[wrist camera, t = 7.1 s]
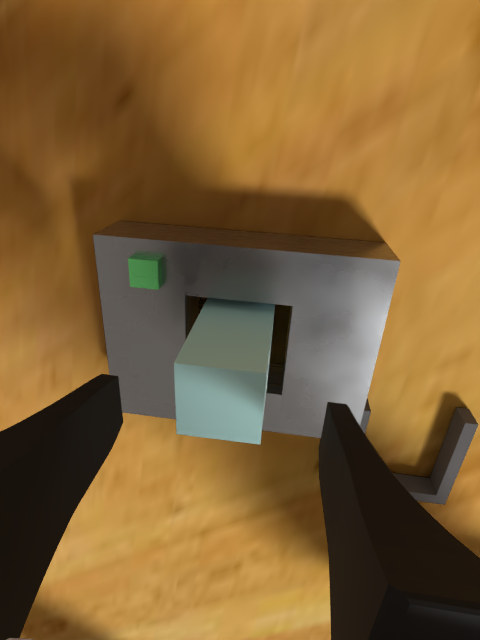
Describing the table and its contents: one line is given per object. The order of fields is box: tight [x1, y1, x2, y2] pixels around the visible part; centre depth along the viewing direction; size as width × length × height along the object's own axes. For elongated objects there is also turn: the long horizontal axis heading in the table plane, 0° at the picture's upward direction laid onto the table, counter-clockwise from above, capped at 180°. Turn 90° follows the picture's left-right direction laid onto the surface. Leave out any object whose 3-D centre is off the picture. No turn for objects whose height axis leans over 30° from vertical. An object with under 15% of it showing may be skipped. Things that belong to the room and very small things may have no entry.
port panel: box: [93, 221, 400, 438], centre depth 18 cm, size 12×9×3 cm
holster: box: [360, 399, 478, 505], centre depth 21 cm, size 6×6×1 cm
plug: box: [174, 298, 275, 444], centre depth 16 cm, size 3×3×7 cm
